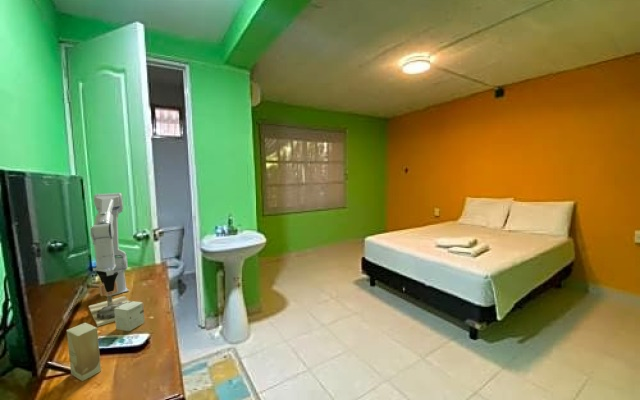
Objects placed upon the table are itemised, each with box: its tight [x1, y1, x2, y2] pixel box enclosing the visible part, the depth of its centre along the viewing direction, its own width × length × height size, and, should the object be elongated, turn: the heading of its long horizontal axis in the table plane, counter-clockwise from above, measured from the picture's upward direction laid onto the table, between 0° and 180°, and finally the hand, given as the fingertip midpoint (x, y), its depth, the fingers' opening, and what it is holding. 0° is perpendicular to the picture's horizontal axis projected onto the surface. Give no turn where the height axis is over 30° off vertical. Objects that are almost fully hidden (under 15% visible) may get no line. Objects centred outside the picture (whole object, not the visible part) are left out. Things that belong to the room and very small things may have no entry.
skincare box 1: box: [66, 322, 102, 382], centre depth 75 cm, size 6×4×12 cm
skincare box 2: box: [114, 300, 146, 332], centre depth 98 cm, size 6×6×7 cm
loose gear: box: [98, 281, 118, 297], centre depth 112 cm, size 5×5×4 cm
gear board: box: [88, 295, 130, 328], centre depth 110 cm, size 20×12×4 cm, turn 45°
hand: (108, 289), depth 112 cm, fingers closed on loose gear, 5 cm apart
